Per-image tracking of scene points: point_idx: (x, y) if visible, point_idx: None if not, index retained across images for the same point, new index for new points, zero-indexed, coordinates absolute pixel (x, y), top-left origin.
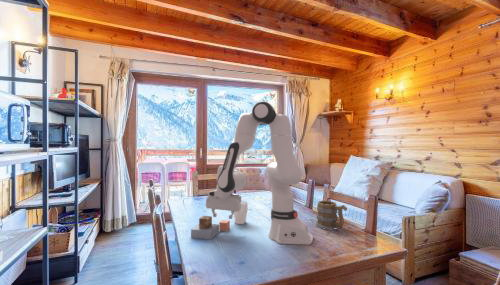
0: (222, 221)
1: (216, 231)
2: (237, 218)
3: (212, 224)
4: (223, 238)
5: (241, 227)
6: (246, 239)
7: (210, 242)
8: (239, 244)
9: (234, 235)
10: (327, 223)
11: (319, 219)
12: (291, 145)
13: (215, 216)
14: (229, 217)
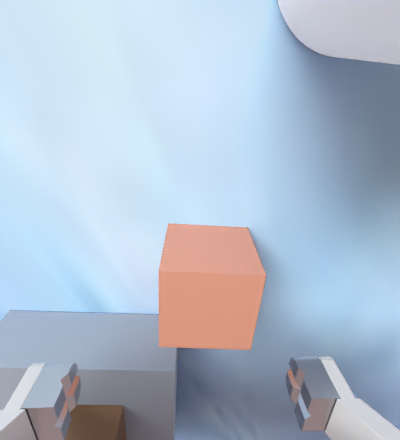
0: (182, 316)
1: (176, 370)
2: (362, 59)
3: (109, 381)
4: (247, 390)
5: (371, 173)
6: (397, 377)
7: (190, 434)
8: None
9: (313, 344)
10: None
11: None
12: None
13: (78, 398)
14: (298, 400)
